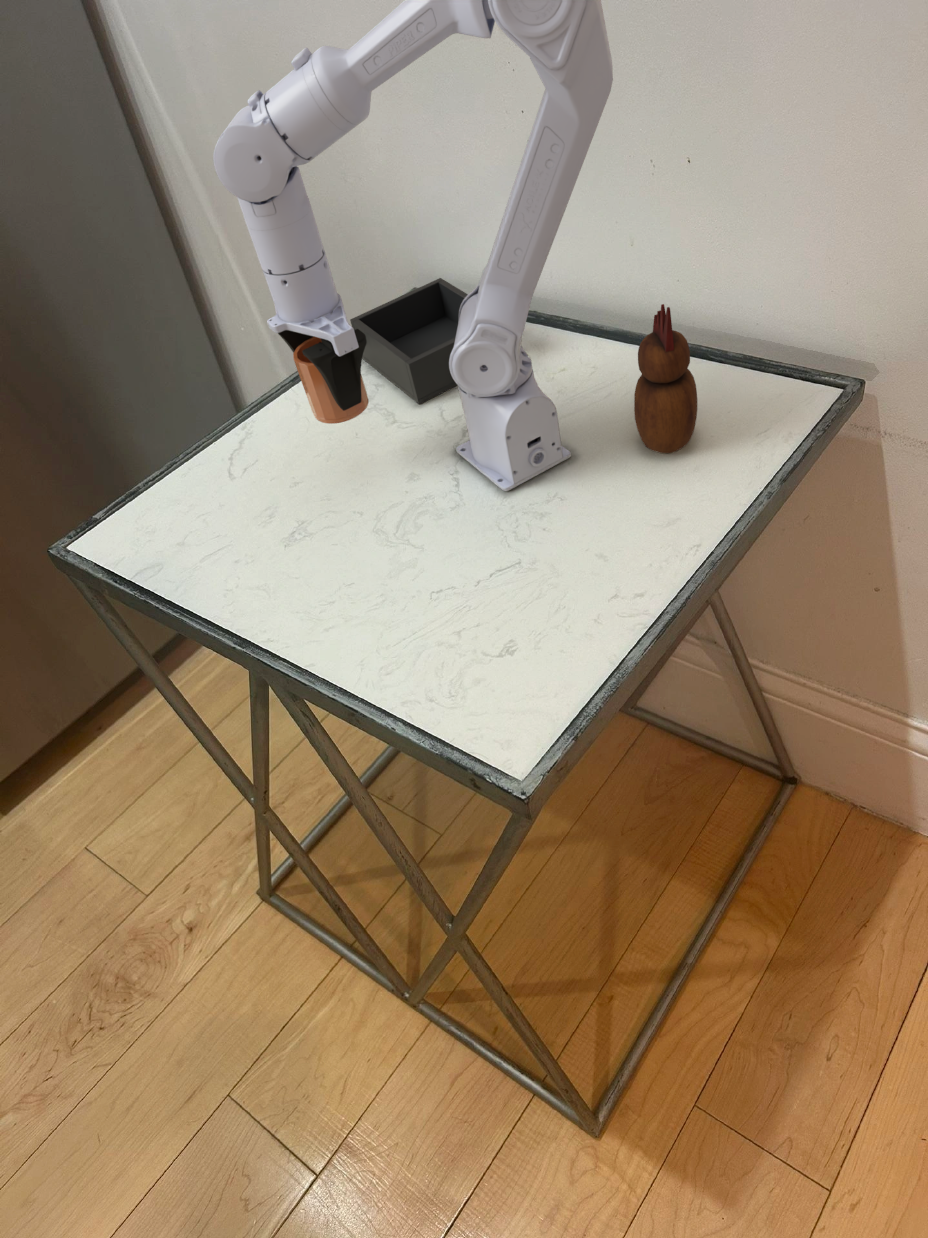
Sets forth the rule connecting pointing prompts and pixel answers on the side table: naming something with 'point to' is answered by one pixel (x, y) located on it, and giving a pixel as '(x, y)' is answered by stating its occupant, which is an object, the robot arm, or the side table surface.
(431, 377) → the dark grey storage bin
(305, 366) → the pot
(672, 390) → the wooden figurine
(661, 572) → the side table surface
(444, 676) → the side table surface
